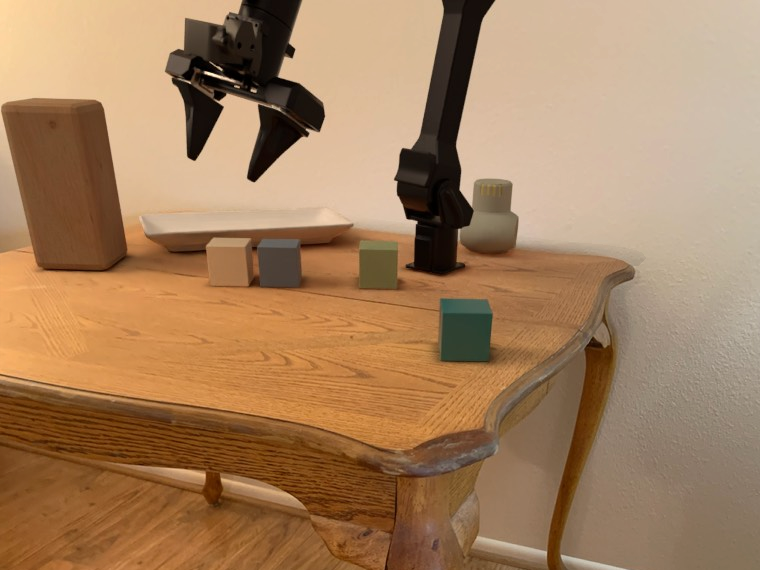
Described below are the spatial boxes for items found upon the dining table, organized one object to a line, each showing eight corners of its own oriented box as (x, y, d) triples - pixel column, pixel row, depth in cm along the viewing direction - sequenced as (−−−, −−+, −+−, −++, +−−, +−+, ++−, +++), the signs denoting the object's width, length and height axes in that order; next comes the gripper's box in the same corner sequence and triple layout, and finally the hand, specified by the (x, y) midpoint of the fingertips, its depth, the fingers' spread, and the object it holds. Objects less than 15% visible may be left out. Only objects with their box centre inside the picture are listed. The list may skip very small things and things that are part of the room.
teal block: (483, 345, 83) (487, 298, 80) (488, 361, 79) (493, 313, 76) (437, 344, 83) (440, 298, 80) (440, 361, 79) (442, 312, 76)
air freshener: (466, 241, 126) (471, 174, 120) (517, 244, 125) (523, 177, 119) (457, 256, 117) (461, 185, 111) (511, 260, 116) (517, 188, 110)
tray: (140, 234, 125) (137, 211, 123) (328, 225, 134) (327, 204, 132) (149, 258, 111) (145, 233, 110) (356, 247, 121) (355, 223, 119)
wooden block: (107, 272, 105) (77, 104, 94) (34, 270, 105) (-5, 102, 94) (130, 255, 113) (105, 99, 102) (63, 253, 113) (30, 97, 102)
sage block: (396, 279, 105) (397, 241, 102) (397, 289, 101) (397, 249, 98) (360, 278, 105) (360, 240, 102) (359, 288, 101) (358, 248, 98)
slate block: (302, 277, 105) (300, 239, 102) (298, 287, 100) (296, 247, 98) (265, 277, 105) (262, 238, 102) (260, 286, 100) (256, 246, 98)
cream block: (254, 276, 104) (251, 238, 102) (248, 286, 100) (245, 246, 98) (217, 276, 104) (213, 237, 102) (210, 285, 100) (205, 245, 97)
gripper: (149, -40, 78) (106, 119, 81) (287, -9, 70) (234, 164, 74) (222, 20, 87) (181, 159, 91) (350, 53, 80) (299, 202, 84)
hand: (220, 169), depth 85 cm, fingers open, 9 cm apart
